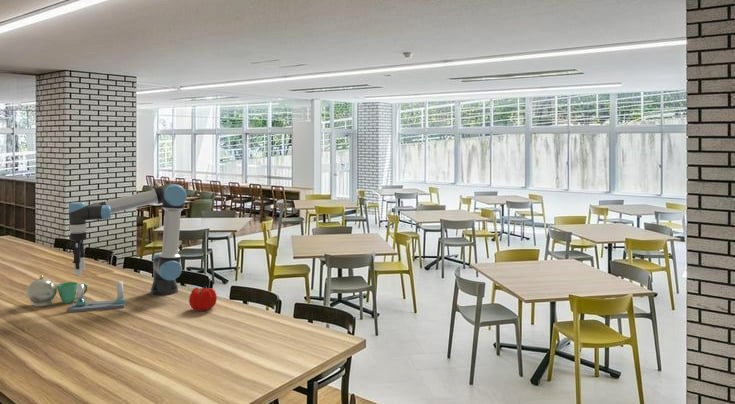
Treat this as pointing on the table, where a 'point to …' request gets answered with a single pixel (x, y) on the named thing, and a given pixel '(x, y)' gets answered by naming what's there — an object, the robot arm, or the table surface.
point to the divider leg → (80, 295)
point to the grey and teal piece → (102, 303)
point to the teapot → (42, 292)
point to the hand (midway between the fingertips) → (80, 272)
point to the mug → (69, 291)
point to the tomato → (202, 299)
